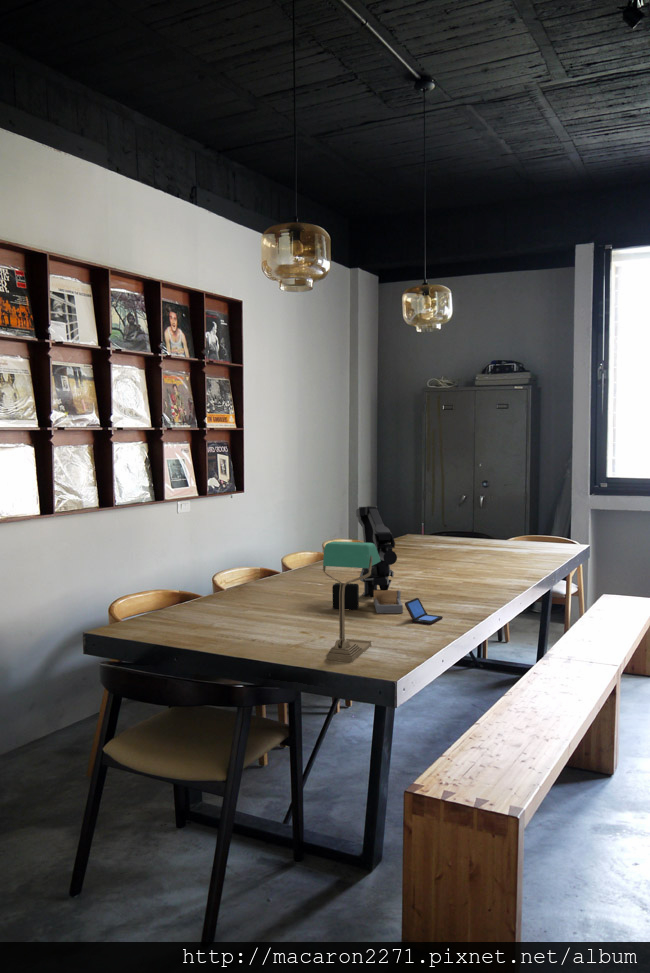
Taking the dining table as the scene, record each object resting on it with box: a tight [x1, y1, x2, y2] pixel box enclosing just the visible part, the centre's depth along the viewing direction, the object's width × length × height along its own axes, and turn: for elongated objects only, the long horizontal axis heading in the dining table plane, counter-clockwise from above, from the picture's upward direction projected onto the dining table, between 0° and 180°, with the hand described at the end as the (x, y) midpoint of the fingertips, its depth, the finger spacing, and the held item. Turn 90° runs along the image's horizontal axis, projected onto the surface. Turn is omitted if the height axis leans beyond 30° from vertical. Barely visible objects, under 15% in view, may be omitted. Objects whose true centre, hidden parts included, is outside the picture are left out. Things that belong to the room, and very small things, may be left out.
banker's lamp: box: [322, 540, 381, 663], centre depth 240 cm, size 16×21×35 cm
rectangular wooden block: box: [373, 589, 402, 605], centre depth 312 cm, size 11×2×6 cm, turn 77°
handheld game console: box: [404, 597, 443, 626], centre depth 283 cm, size 12×11×7 cm
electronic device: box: [331, 582, 360, 611], centre depth 304 cm, size 4×10×10 cm, turn 78°
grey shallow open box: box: [374, 598, 404, 614], centre depth 303 cm, size 14×10×3 cm
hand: (383, 597), depth 315 cm, fingers closed
